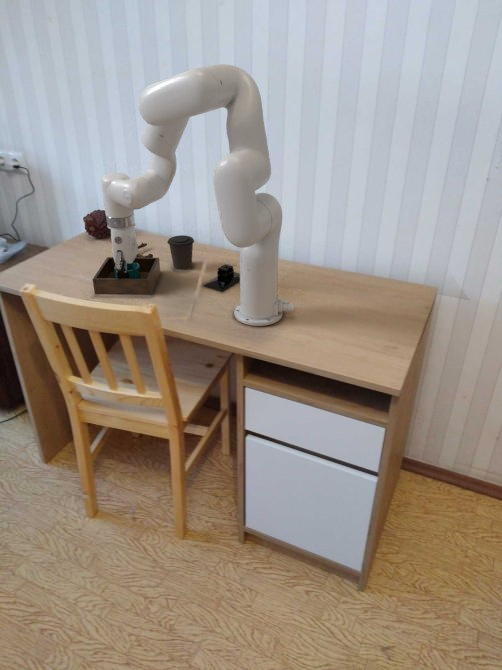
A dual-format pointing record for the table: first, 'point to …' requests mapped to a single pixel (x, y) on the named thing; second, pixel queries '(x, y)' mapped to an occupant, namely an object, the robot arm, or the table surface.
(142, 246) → the brown branch
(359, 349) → the table surface
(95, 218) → the pine cone
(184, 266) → the coffee cup
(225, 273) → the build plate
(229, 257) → the table surface
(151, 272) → the open wooden box
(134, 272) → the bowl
